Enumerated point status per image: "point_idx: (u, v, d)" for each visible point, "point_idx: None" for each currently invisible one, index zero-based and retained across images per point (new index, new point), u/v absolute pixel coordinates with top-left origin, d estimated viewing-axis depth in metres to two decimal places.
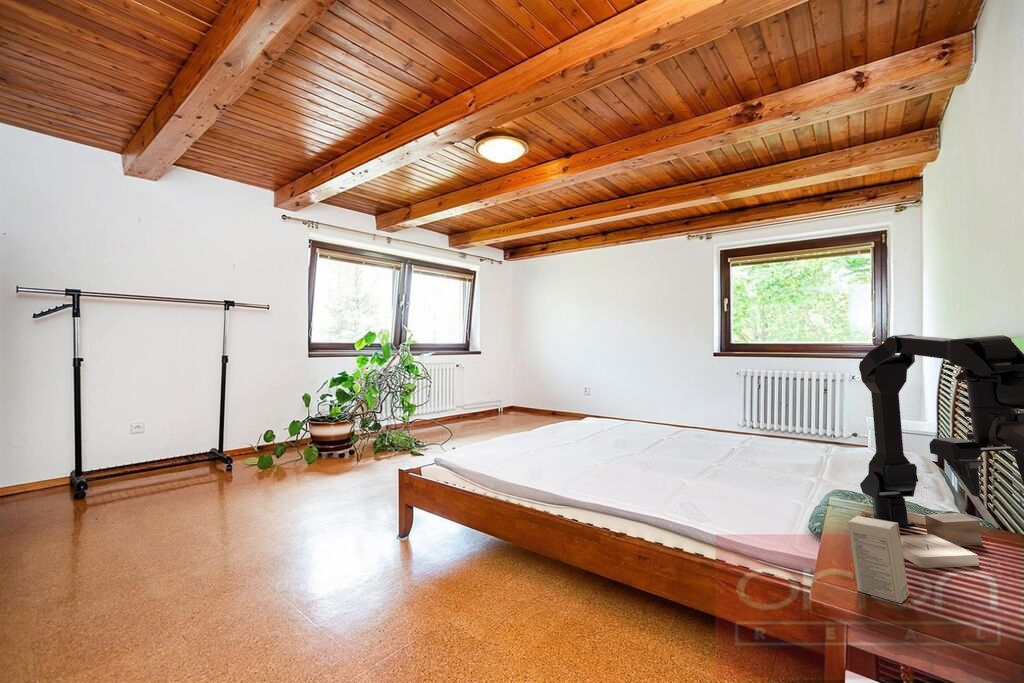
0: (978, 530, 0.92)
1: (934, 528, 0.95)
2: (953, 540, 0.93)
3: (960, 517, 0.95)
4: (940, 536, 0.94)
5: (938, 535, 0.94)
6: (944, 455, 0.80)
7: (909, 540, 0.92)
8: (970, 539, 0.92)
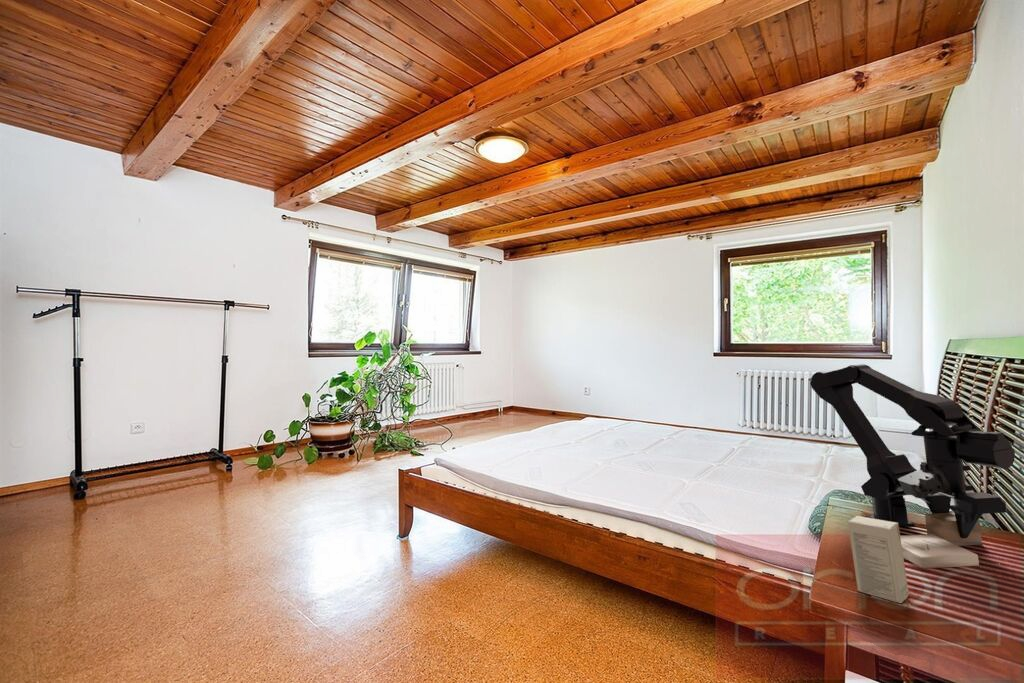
0: (978, 529, 0.92)
1: (934, 527, 0.95)
2: (953, 539, 0.93)
3: None
4: (940, 535, 0.94)
5: (938, 534, 0.94)
6: None
7: (909, 540, 0.92)
8: (970, 538, 0.92)
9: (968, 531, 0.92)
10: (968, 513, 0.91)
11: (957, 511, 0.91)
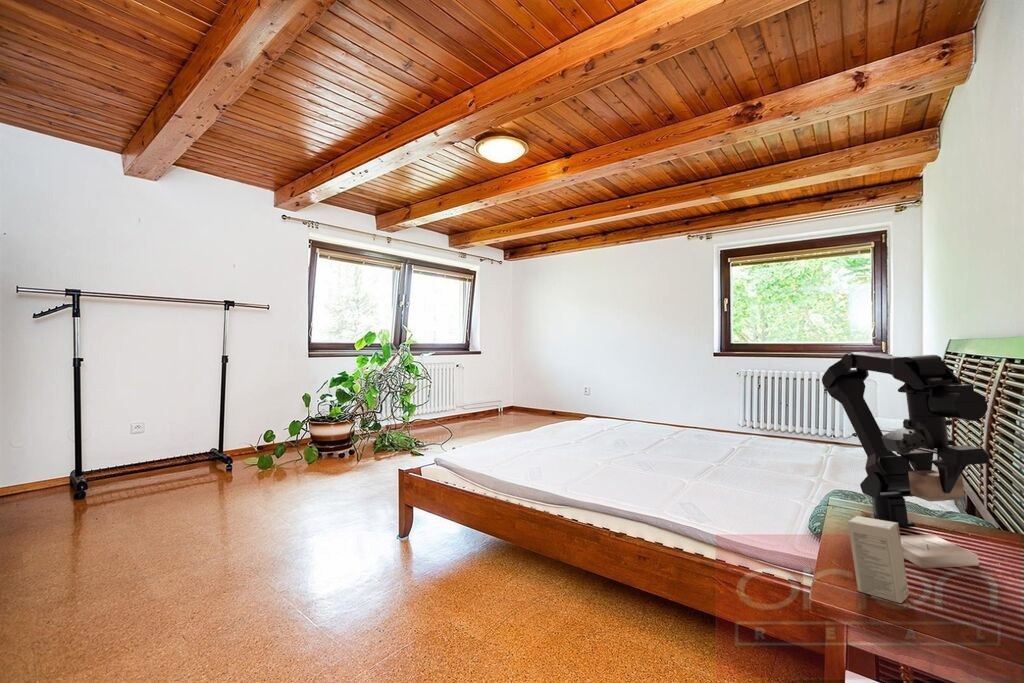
0: (961, 484, 0.92)
1: (918, 484, 0.94)
2: (937, 495, 0.92)
3: None
4: (924, 491, 0.93)
5: (922, 491, 0.93)
6: None
7: (909, 540, 0.92)
8: (953, 493, 0.92)
9: (951, 486, 0.91)
10: (951, 467, 0.90)
11: (940, 465, 0.90)
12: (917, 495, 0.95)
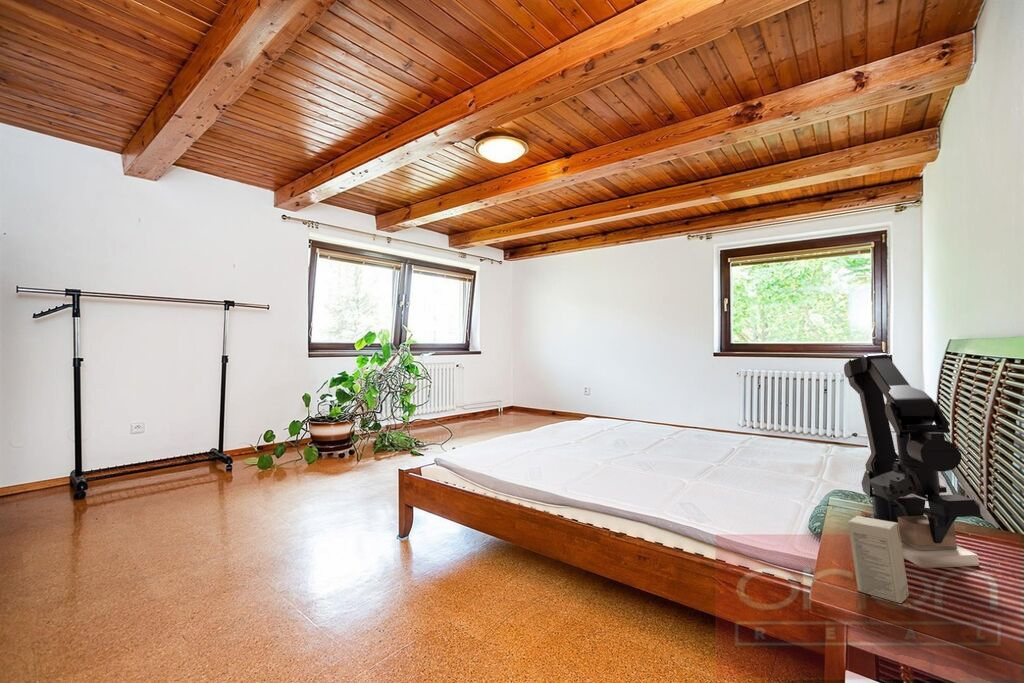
0: (953, 533, 0.87)
1: (907, 531, 0.90)
2: (926, 544, 0.87)
3: None
4: (913, 539, 0.88)
5: (911, 538, 0.89)
6: None
7: None
8: (944, 543, 0.87)
9: (942, 536, 0.86)
10: (942, 516, 0.86)
11: (930, 514, 0.85)
12: (907, 542, 0.90)
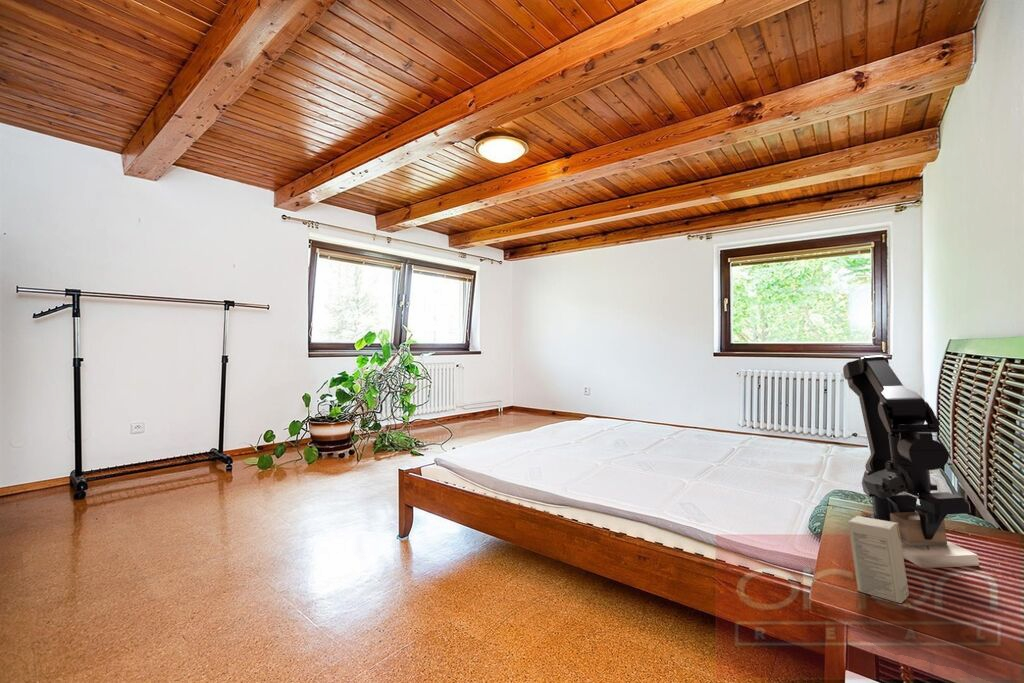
0: (943, 529, 0.89)
1: None
2: (917, 539, 0.89)
3: None
4: (904, 535, 0.91)
5: (902, 534, 0.91)
6: None
7: None
8: (935, 538, 0.89)
9: (932, 532, 0.89)
10: (932, 514, 0.88)
11: (921, 512, 0.87)
12: None
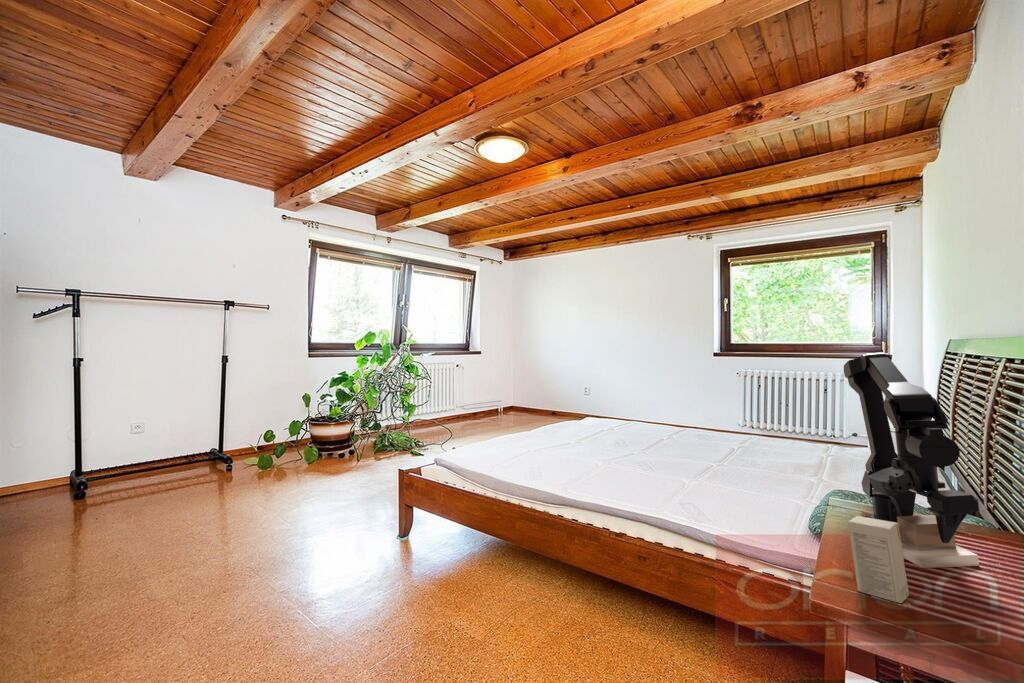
0: None
1: (906, 531, 0.90)
2: (925, 544, 0.88)
3: (934, 519, 0.89)
4: (912, 539, 0.89)
5: (910, 538, 0.89)
6: None
7: None
8: (943, 543, 0.87)
9: (950, 535, 0.85)
10: (950, 516, 0.84)
11: (938, 513, 0.83)
12: (906, 542, 0.90)
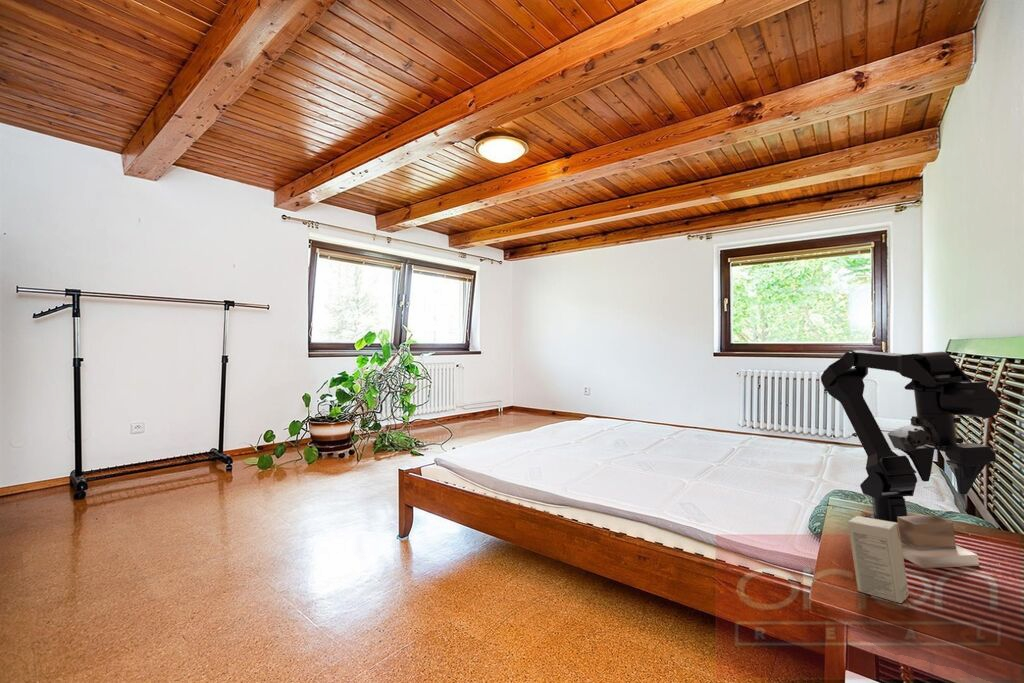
0: (952, 533, 0.87)
1: (906, 531, 0.90)
2: (925, 544, 0.88)
3: (934, 519, 0.89)
4: (912, 539, 0.89)
5: (910, 538, 0.89)
6: None
7: None
8: (943, 543, 0.87)
9: (968, 487, 0.88)
10: (968, 468, 0.88)
11: (956, 465, 0.87)
12: (906, 542, 0.90)
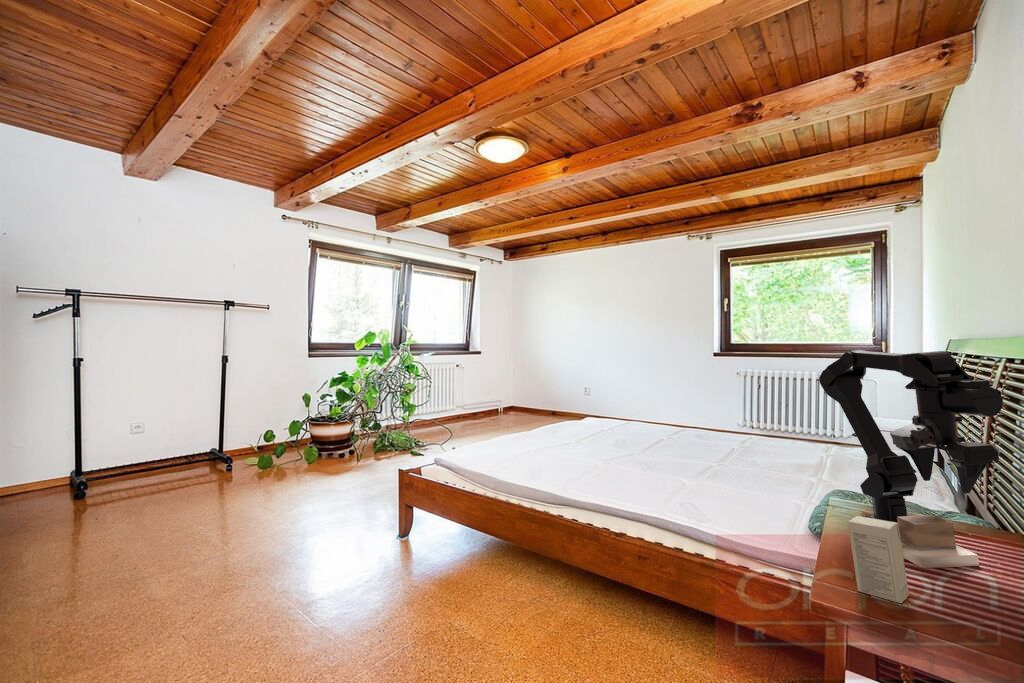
0: (952, 533, 0.87)
1: (906, 531, 0.90)
2: (925, 544, 0.88)
3: (934, 519, 0.89)
4: (912, 539, 0.89)
5: (910, 538, 0.89)
6: None
7: None
8: (943, 543, 0.87)
9: (971, 485, 0.88)
10: (970, 467, 0.88)
11: (959, 464, 0.87)
12: (906, 542, 0.90)
